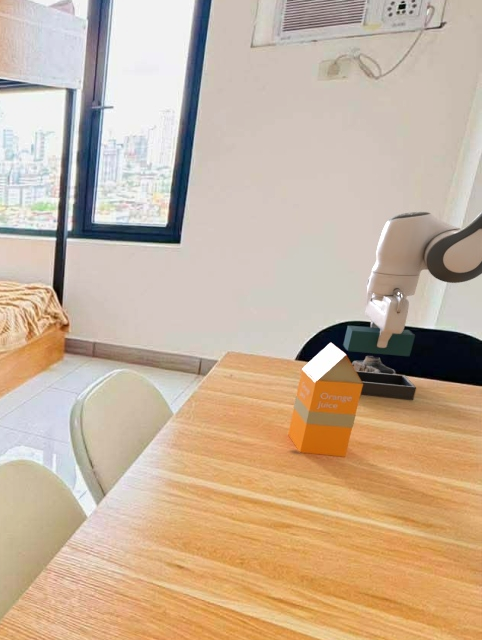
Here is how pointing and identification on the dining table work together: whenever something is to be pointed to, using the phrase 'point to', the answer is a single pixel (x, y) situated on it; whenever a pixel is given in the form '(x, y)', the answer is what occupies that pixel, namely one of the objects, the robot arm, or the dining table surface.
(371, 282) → the robot arm
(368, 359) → the grey shoe
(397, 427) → the dining table surface
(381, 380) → the dark grey tray
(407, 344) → the dark teal block
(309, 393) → the orange juice
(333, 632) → the dining table surface
